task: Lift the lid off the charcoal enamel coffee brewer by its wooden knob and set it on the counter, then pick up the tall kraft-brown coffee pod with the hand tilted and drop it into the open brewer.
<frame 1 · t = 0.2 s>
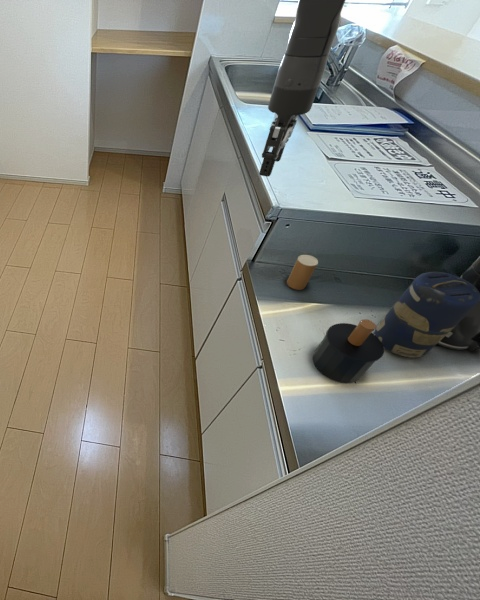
hand: (269, 167, 76), 29 cm above the counter, tool pointing down, fingers open, 8 cm apart
brewer: (336, 365, 72), on the counter
coffee pod: (296, 284, 90), on the counter
canister: (396, 343, 75), on the counter
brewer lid: (353, 342, 67), point 7 cm above the counter, touching brewer
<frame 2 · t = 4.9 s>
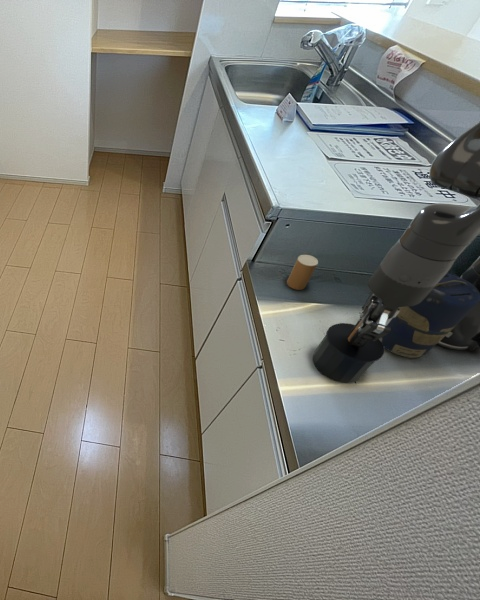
hand: (356, 339, 66), 9 cm above the counter, tool pointing down, fingers closed on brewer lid, 2 cm apart
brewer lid: (353, 342, 67), point 8 cm above the counter, touching brewer, gripper
everything else where it was.
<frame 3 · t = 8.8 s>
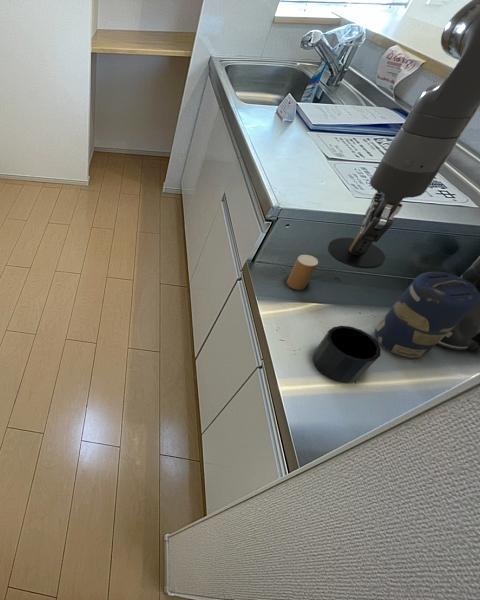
hand: (358, 248, 67), 21 cm above the counter, tool pointing down, fingers closed on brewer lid, 2 cm apart
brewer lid: (355, 253, 67), point 20 cm above the counter, touching gripper
everything else where it was.
when the fingers open (2 cm above the counter, at t = 13.1 s): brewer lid stays where it is, point 1 cm above the counter.
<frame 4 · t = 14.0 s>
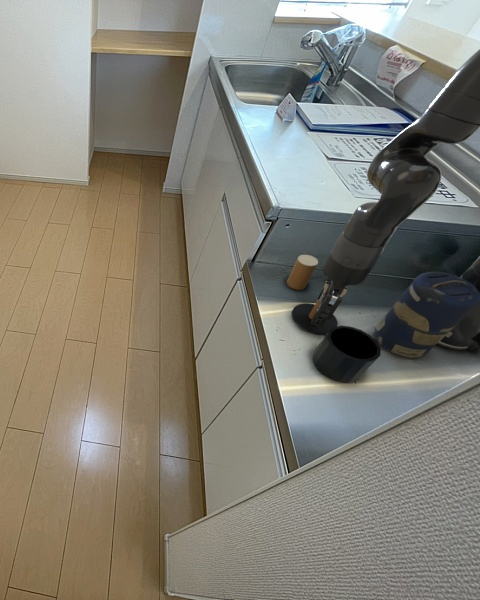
hand: (319, 312, 79), 3 cm above the counter, tool pointing down, fingers open, 8 cm apart
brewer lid: (313, 318, 81), point 1 cm above the counter
everything else where it was.
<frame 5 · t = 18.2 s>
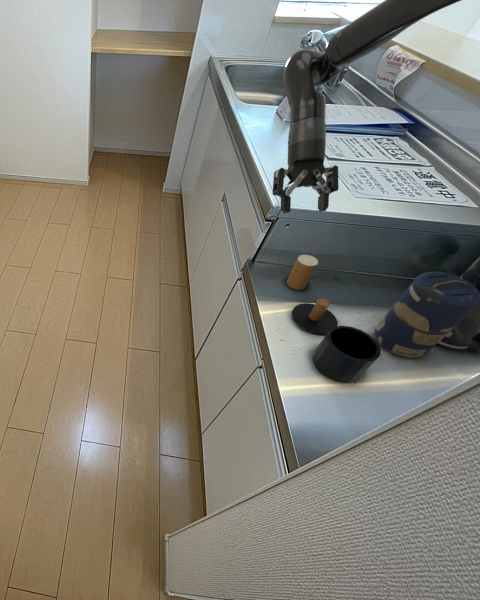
hand: (304, 212, 84), 17 cm above the counter, tool tilted 40°, fingers open, 8 cm apart
nothing on the counter moved.
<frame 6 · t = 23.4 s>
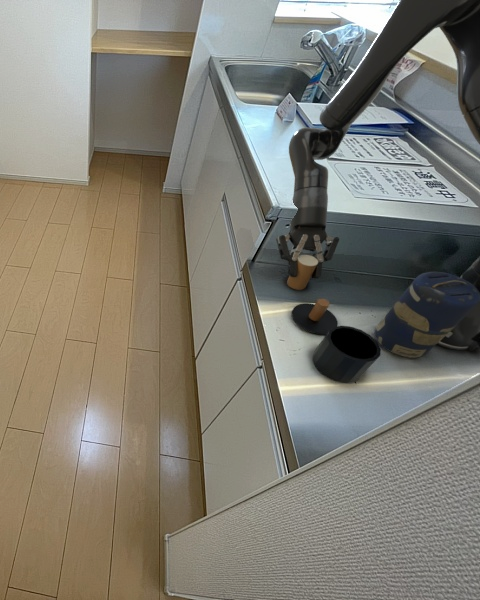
hand: (304, 277, 86), 4 cm above the counter, tool tilted 45°, fingers closed on coffee pod, 4 cm apart
coffee pod: (296, 284, 90), on the counter, touching gripper
everything else where it was.
when the fingers open (9 cm above the counter, at t = 32.6 s): coffee pod drops 4 cm, resting on brewer.
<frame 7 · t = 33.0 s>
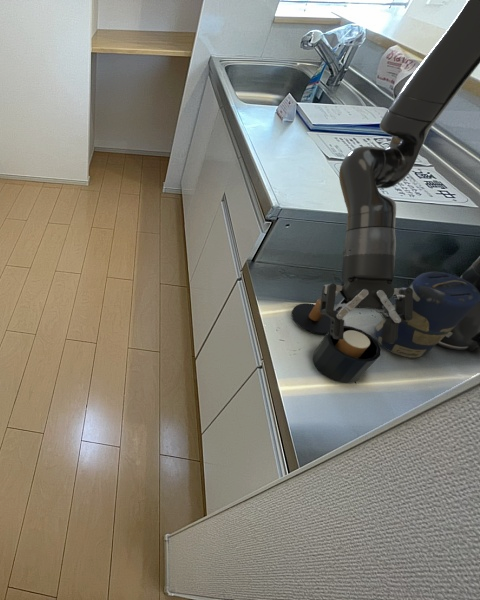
hand: (362, 341, 65), 10 cm above the counter, tool tilted 45°, fingers open, 8 cm apart
coffee pod: (337, 363, 72), point 1 cm above the counter, touching brewer
everything else where it was.
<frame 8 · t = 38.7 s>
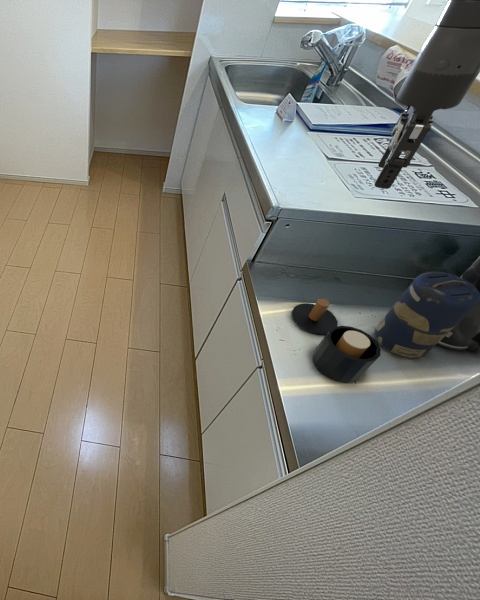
hand: (383, 176, 59), 34 cm above the counter, tool pointing down, fingers open, 8 cm apart
nothing on the counter moved.
at the end: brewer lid inside the target area (0.2 cm from its centre), point 0.6 cm above the counter; coffee pod inside the target area in the brewer (0.2 cm from its centre), point 0.5 cm above the brewer's base; the gripper is holding nothing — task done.
